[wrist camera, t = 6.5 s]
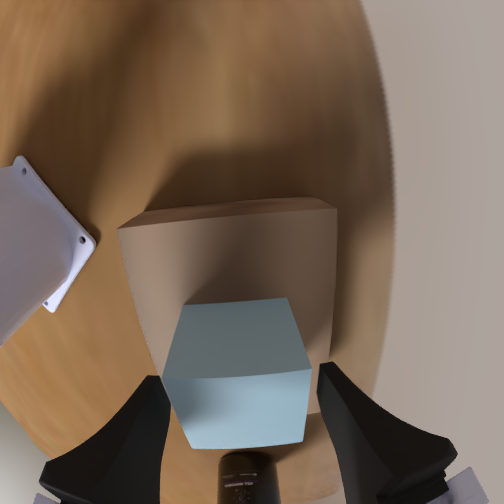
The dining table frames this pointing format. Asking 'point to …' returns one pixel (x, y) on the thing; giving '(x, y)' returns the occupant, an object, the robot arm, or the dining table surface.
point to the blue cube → (238, 375)
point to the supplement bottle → (248, 479)
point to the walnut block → (234, 266)
